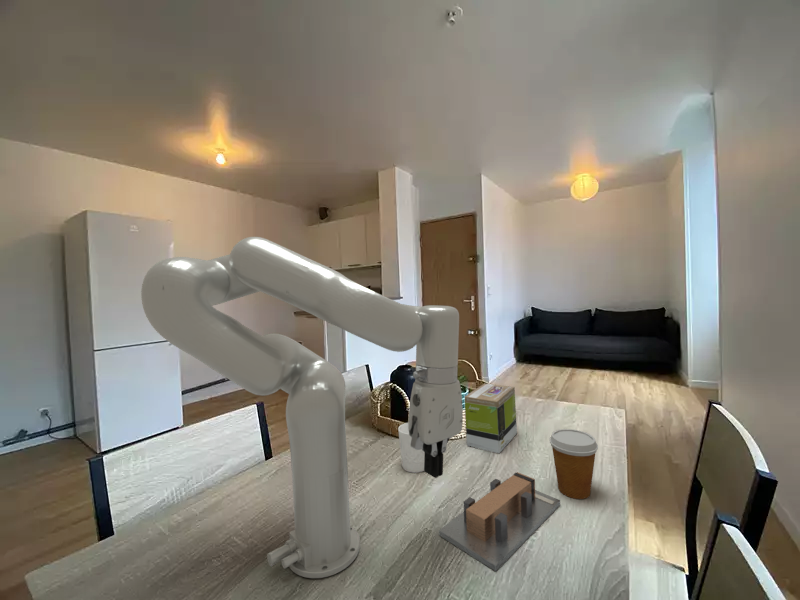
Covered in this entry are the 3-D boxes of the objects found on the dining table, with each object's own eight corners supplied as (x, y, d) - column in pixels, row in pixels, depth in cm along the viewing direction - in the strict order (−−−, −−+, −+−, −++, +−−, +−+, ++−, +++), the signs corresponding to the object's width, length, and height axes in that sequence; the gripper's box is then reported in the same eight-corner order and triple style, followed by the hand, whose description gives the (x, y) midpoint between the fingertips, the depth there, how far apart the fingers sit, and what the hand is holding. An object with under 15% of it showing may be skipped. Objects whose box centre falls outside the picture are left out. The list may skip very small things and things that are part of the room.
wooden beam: (485, 541, 63) (484, 519, 63) (466, 530, 66) (465, 508, 66) (535, 497, 75) (535, 478, 75) (517, 490, 78) (517, 471, 78)
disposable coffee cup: (597, 509, 72) (596, 450, 72) (546, 496, 77) (545, 441, 77) (600, 485, 80) (599, 432, 80) (554, 475, 85) (553, 425, 85)
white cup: (428, 475, 87) (427, 435, 87) (397, 473, 89) (395, 433, 89) (432, 459, 95) (431, 422, 95) (403, 457, 97) (401, 421, 96)
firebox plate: (495, 571, 58) (495, 541, 57) (439, 535, 66) (438, 509, 66) (560, 504, 74) (559, 481, 74) (507, 482, 83) (507, 461, 83)
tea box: (486, 427, 114) (484, 381, 114) (517, 434, 108) (516, 386, 108) (465, 446, 102) (463, 394, 101) (499, 455, 96) (498, 400, 96)
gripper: (421, 385, 57) (417, 497, 58) (478, 372, 67) (475, 469, 68) (391, 375, 63) (388, 478, 64) (448, 365, 73) (445, 454, 73)
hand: (433, 473), depth 66 cm, fingers closed
